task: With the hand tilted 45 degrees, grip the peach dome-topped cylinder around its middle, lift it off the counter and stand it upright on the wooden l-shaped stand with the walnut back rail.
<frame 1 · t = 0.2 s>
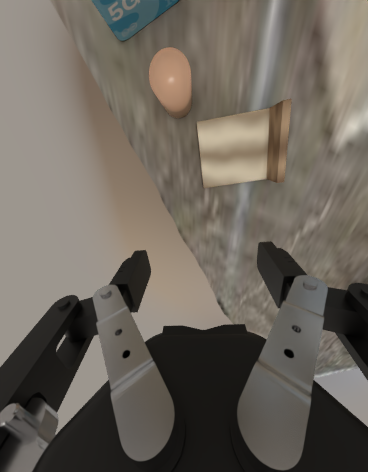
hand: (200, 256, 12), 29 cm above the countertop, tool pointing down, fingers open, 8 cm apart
data package: (145, 4, 27), on the countertop
wooden l-shaped stand: (234, 151, 35), on the countertop
peach dome-topped cylinder: (177, 101, 32), on the countertop
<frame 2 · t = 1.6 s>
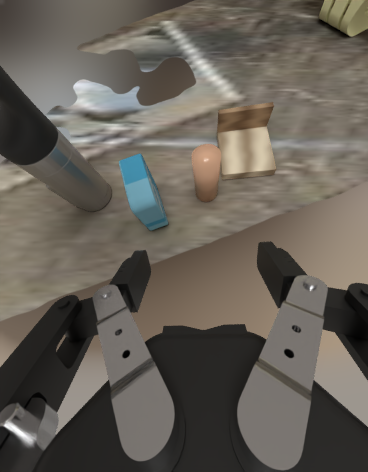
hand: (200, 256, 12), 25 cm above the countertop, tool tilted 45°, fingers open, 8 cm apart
slatted curved stool: (348, 21, 54), on the countertop
data package: (154, 208, 43), on the countertop
wooden l-shaped stand: (243, 154, 44), on the countertop
peach dome-topped cylinder: (206, 192, 42), on the countertop
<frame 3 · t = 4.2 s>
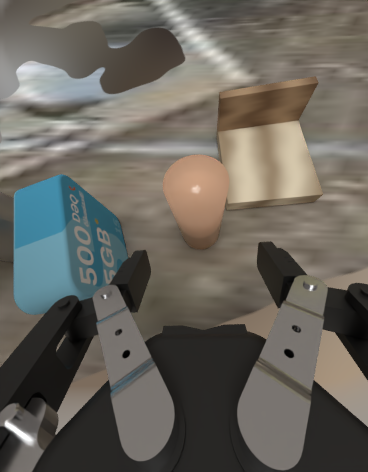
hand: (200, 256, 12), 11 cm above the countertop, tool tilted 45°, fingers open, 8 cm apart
data package: (113, 258, 26), on the countertop
wooden l-shaped stand: (260, 165, 27), on the countertop
peach dome-topped cylinder: (200, 231, 25), on the countertop
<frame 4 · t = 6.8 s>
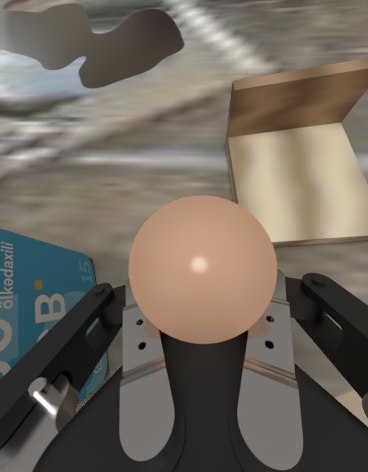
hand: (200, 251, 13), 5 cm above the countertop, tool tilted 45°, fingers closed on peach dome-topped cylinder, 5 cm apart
data package: (82, 316, 18), on the countertop
wooden l-shaped stand: (286, 184, 19), on the countertop
peach dome-topped cylinder: (203, 280, 17), on the countertop, touching gripper
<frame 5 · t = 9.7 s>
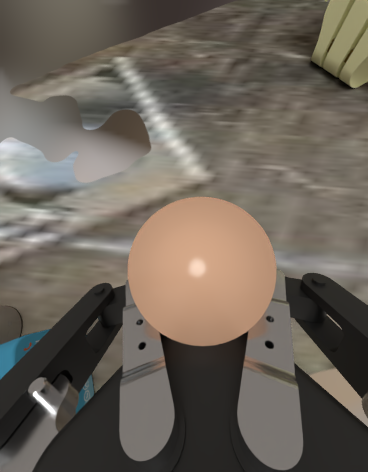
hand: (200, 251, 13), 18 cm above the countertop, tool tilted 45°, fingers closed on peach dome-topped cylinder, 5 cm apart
slatted curved stool: (349, 64, 41), on the countertop
data package: (78, 362, 29), on the countertop
peach dome-topped cylinder: (203, 281, 17), point 13 cm above the countertop, touching gripper
when the fingers open (9 cm above the countertop, at t = 12.6 s): peach dome-topped cylinder drops 1 cm, resting on wooden l-shaped stand.
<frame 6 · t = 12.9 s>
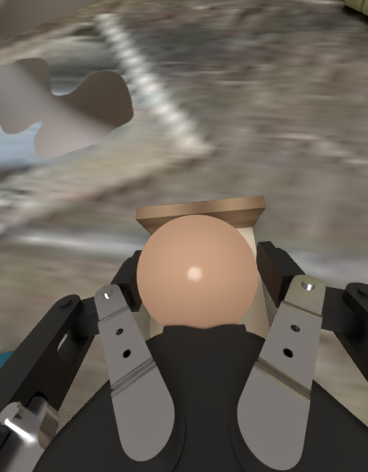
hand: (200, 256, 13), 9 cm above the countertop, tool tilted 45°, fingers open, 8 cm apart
wooden l-shaped stand: (204, 282, 21), on the countertop
peach dome-topped cylinder: (202, 283, 19), point 2 cm above the countertop, touching wooden l-shaped stand
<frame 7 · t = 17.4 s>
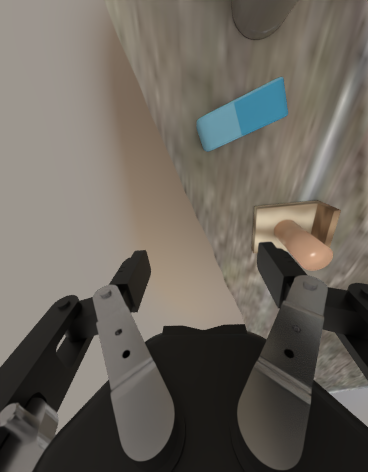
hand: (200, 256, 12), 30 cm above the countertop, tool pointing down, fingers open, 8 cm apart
data package: (228, 125, 34), on the countertop
wooden l-shaped stand: (282, 226, 43), on the countertop
peach dome-topped cylinder: (285, 229, 41), point 2 cm above the countertop, touching wooden l-shaped stand
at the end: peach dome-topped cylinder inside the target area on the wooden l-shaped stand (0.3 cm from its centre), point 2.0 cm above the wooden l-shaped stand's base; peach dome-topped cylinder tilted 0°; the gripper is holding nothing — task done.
